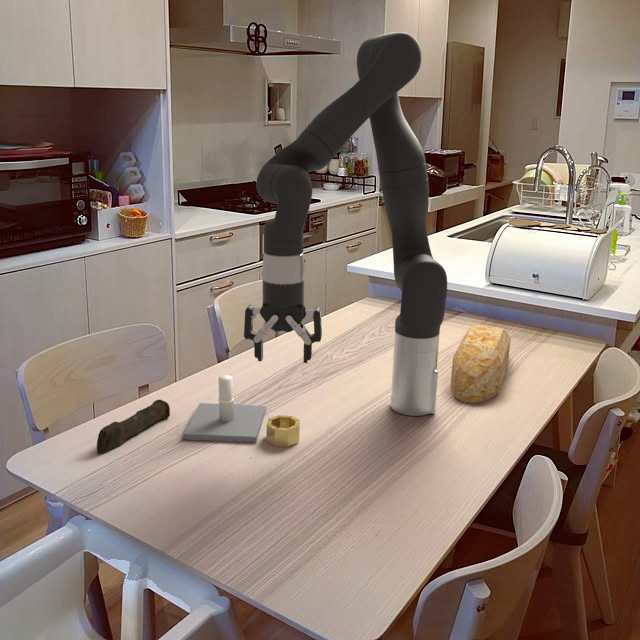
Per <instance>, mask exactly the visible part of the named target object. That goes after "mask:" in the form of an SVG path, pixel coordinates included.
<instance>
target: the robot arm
mask: <svg viewBox="0 0 640 640" xmlns="http://www.w3.org/2000/svg"><path fill="white" fill-rule="evenodd" d="M422 60H423V55H422V49H421V45H420V44H419V42H418V40H417V38H416V37H414V36H413V35H412V34H410V33H408V32H404V31H394V32H388V33H384V34H380V35H376V36H371V37H369V38H367V39H366V40H364V41H363V42H362V43H361V44H360V46H359V48H358V50H357V55H356V70H357V75H358V79H359V80H357V82H355V84H353V85H352V86H351V88H349V89H348V90H347V91H345V92H344V93H343V94H341V95H340V96H339V97H337V98H336V99H335V100H333V101H332V102H330V104H328V105H327V106H326V107H324V108H323V110H321V111H320V112H319V113H318V114H317V115H316V116H315V117H314V118H313V119H312V120H310V123H309V124H307V126H306V127H305V128H304V129H303V131H302V132H301V133H300V134H299V136H298V137H297V138H296V139H295V140H293V141H292V142H290V143H289V144H287V145H286V146H285V147H284V148H282V149H281V150H280V151H278V152H277V153H276V154H274V156H272V157H271V158H270V159H269V160H268V161H267V162H265V163H264V165H263V166H262V167H261V169H260V170H259V173H258V175H257V177H256V182H255V183H256V184H255V186H256V187H255V189H256V192H257V193H258V196H260V198H261V199H263V200H264V201H266V202H268V203H271V204H276V210H275V214H274V215H275V216H274V218H270V219H268V220H267V221H265V224H264V226H263V259H262V266H261V267H262V270H261V277H262V304H261V307H259V306H254V305H252V304H248V305H247V306H246V309H244V323H243V325H244V328H243V338H244V339H245V340H251V341H252V342H253V345H254V346H253V347H254V349H253V350H254V351H253V353H254V354H253V356H254V358H255V359H257V361H258V362H263V360H264V339H263V338H264V336H265V335H267V334H268V332H269V331H270V330H273V332H276V333H277V332H282V331H283V332H286V333H291V332H293V331H294V332H295V333H296V335H297V336H298V337H300V339H301V340H302V341H303V364H308V361H311V359H312V356H313V354H312V353H313V351H312V350H313V344H314V343H320V342H321V341H322V337H323V328H322V309H321V308H320V307H318V306H317V307H315V308H308V309H307V308H306V306H305V259H304V228H305V226H306V222H307V219H308V214H309V211H310V207H311V203H312V197H313V185H312V180H311V177H310V175H309V173H310V172H316V171H320V170H323V169H324V168H325V167H327V165H328V164H330V163H331V161H332V160H333V159H334V157H335V156H336V155H337V154H338V153H339V152H340V151H341V149H342V148H343V147H344V145H345V144H346V143H348V141H349V140H350V138H351V137H353V135H354V134H355V133H356V132H357V131H358V130H359V129H360V127H362V125H364V124H365V122H366V121H367V120H369V121H370V123H369V124H370V128H371V134H372V139H373V143H374V148H375V155H376V161H377V167H378V168H377V170H378V176H379V182H380V188H381V192H382V198H383V202H384V207H385V212H386V216H387V220H388V224H389V229H390V235H391V244H392V259H393V275H394V277H393V278H394V281H395V284H396V286H397V287H398V289H399V290H400V291H401V298H400V299H401V300H400V311H399V315H397V316H396V318H395V322H394V337H393V338H394V339H393V340H394V341H393V357H392V373H391V374H392V375H391V393H390V394H391V395H390V407H391V409H392V410H393V411H395V412H396V413H399V414H401V415H404V416H411V417H419V416H420V417H421V416H427V415H428V414H436V406H437V405H436V404H437V392H438V380H439V371H438V358H439V345H440V333H441V332H440V330H441V326H442V324H443V321H444V319H445V311H446V302H447V293H448V277H447V272H446V270H445V268H444V267H443V265H442V264H441V263H440V262H438V261H437V260H435V258H434V257H433V254H432V250H431V246H430V242H429V237H428V231H427V213H428V206H429V198H430V195H429V194H430V184H429V176H428V167H427V163H426V156H425V152H424V150H423V148H422V145H421V143H420V142H419V140H418V138H417V137H416V135H415V132H413V130H412V128H411V126H410V125H409V123H408V121H407V120H406V118H405V115H404V113H403V111H402V110H403V109H402V107H401V102H400V97H399V91H400V90H402V89H403V88H404V87H405V86H407V85H408V84H409V83H410V82H412V80H413V79H414V78H415V77H416V75H417V74H418V73H419V71H420V68H421V65H422ZM259 314H260V316H261V318H262V319H263V320H264V323H263V324H262V326H261V327H260V328H259V329H258V331H253V329H254V328H253V327H254V319H256V318H257V317H258V315H259ZM306 316H307V317H308V318H309V321H311V322H313V331H314V332H313V333H312V334H311V333H310V332H309V331H308V328H307V327H306V325H305V323H304V322H303V320H304V319H305V318H306Z"/></svg>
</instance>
